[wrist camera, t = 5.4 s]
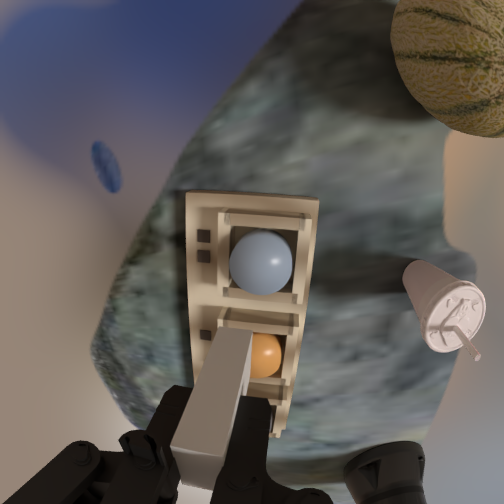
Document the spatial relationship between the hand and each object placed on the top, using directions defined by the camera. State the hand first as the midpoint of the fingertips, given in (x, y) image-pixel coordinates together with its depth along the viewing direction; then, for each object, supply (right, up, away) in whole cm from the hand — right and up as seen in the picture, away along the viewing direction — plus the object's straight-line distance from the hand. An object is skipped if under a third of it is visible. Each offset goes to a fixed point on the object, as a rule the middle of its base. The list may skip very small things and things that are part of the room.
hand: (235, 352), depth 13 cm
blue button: (+2, +4, +13) cm, 14 cm away
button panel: (0, -4, +20) cm, 20 cm away
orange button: (+1, -5, +17) cm, 18 cm away
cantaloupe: (+20, +23, +8) cm, 31 cm away
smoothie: (+18, +2, +15) cm, 24 cm away
